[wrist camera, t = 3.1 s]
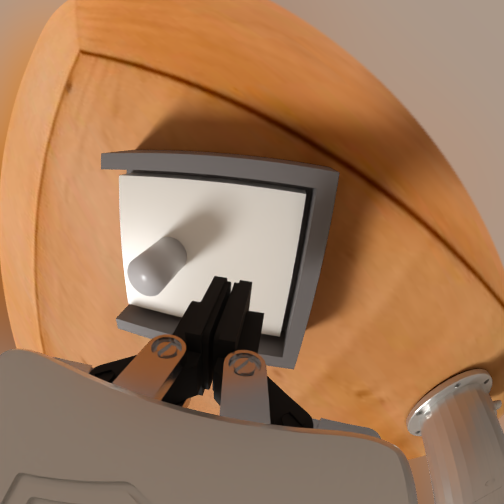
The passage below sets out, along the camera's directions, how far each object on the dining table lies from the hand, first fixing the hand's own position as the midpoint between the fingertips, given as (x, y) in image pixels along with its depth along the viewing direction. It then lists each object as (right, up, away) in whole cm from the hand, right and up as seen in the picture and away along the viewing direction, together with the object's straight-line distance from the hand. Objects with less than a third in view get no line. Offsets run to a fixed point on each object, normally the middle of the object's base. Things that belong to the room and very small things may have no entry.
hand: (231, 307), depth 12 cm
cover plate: (-2, +3, +7) cm, 7 cm away
